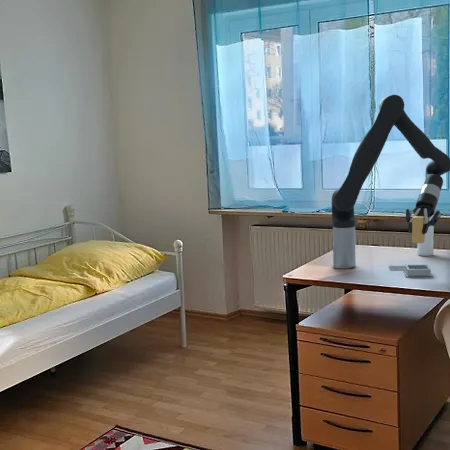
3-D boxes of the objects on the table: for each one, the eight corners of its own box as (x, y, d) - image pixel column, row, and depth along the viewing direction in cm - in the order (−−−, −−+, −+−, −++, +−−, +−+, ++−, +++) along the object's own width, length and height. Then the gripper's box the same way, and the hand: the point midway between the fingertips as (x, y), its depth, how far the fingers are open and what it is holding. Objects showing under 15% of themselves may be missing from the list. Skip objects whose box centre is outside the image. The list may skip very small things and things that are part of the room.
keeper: (405, 278, 248) (405, 269, 248) (403, 272, 258) (403, 264, 257) (432, 278, 246) (432, 269, 246) (429, 272, 256) (429, 264, 256)
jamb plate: (390, 271, 260) (390, 270, 260) (388, 266, 269) (388, 265, 269) (420, 271, 258) (420, 270, 258) (418, 266, 267) (418, 265, 267)
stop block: (412, 242, 250) (412, 217, 248) (414, 241, 253) (414, 215, 252) (422, 243, 248) (422, 217, 246) (424, 241, 252) (424, 216, 250)
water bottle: (434, 256, 285) (434, 200, 282) (417, 256, 287) (418, 200, 283) (432, 253, 292) (433, 198, 289) (416, 253, 294) (416, 198, 290)
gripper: (408, 191, 258) (396, 225, 251) (443, 192, 249) (432, 228, 242) (413, 203, 263) (401, 237, 255) (448, 204, 254) (437, 239, 246)
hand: (416, 232), depth 249 cm, fingers closed on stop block, 4 cm apart
